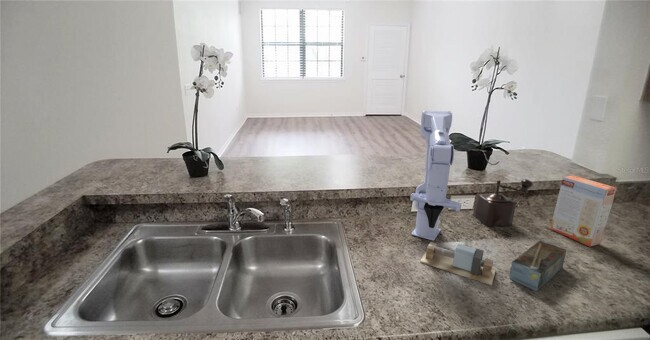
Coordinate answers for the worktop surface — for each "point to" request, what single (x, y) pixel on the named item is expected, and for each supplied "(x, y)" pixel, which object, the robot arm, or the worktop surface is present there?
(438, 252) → the pipe stand
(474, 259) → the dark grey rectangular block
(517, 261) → the beverage carton
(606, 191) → the cracker box
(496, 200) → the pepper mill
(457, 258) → the sleeve
